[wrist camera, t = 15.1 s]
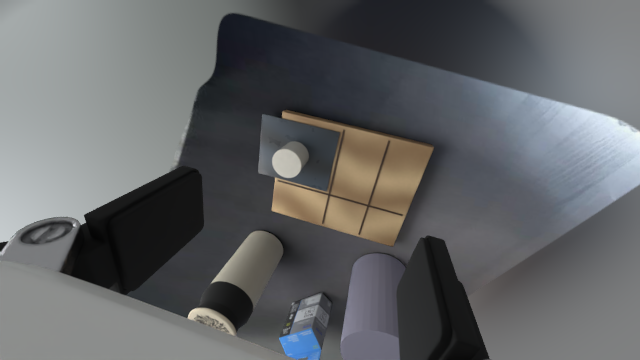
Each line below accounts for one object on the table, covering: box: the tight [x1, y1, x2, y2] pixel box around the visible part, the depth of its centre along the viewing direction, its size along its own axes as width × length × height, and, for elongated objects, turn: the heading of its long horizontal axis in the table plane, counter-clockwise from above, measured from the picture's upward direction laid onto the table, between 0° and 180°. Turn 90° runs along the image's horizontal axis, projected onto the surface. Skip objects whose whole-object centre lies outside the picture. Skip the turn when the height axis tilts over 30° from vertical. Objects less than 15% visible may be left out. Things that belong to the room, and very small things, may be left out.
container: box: [340, 253, 406, 360], centre depth 40 cm, size 10×10×15 cm
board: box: [258, 110, 434, 247], centre depth 40 cm, size 18×25×2 cm
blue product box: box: [279, 292, 332, 360], centre depth 49 cm, size 9×4×12 cm, turn 129°
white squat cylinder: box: [272, 141, 309, 178], centre depth 37 cm, size 4×4×4 cm
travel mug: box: [188, 231, 283, 337], centre depth 42 cm, size 8×8×18 cm
